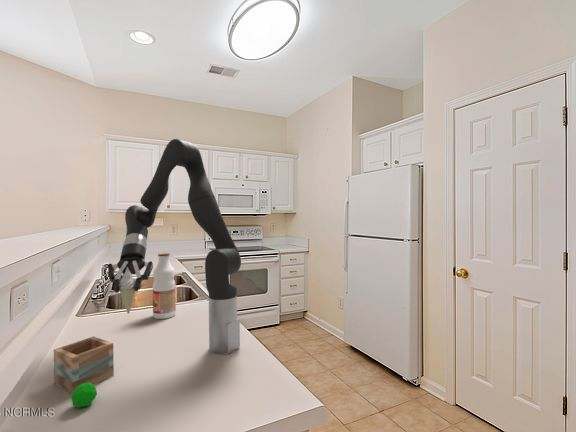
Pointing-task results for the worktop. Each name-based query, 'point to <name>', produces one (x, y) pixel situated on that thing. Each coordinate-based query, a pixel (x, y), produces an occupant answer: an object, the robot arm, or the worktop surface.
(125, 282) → the ice cream cone
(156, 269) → the fruit juice
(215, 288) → the robot arm
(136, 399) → the worktop surface
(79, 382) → the square wooden crate
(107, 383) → the worktop surface
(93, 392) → the polyhedron
